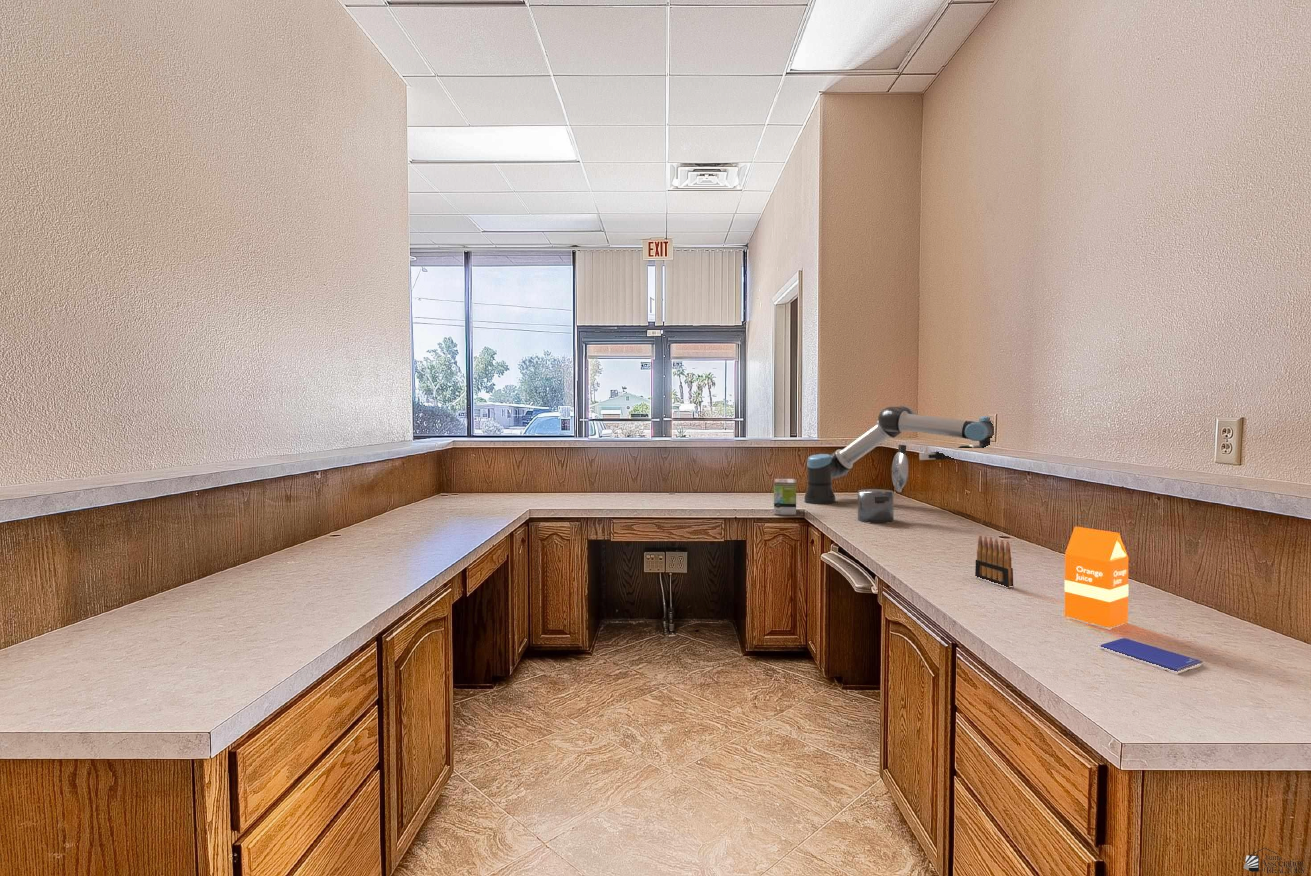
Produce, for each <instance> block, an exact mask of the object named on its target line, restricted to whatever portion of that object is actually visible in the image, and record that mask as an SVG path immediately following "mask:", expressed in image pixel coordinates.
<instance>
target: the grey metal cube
mask: <svg viewBox="0 0 1311 876" xmlns="http://www.w3.org/2000/svg"><path fill="white" fill-rule="evenodd" d="M894 492H895V491H893V490H889V489H879V488H865V489H864V488H863V489H859V490H857V520H858V521H860V522H863V523H868V522H871V524H888V523H887V522H890V523H893V522H894V521H895V515H894V514H895V511H894V507H895V506H894V505H895V504H894V503H895V501H894V498H895V497H894Z"/></svg>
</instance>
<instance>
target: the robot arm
mask: <svg viewBox="0 0 1311 876" xmlns="http://www.w3.org/2000/svg"><path fill="white" fill-rule="evenodd" d="M990 417H991V416H980V417H979V418H978V419H979V420H978V421H970V420H964V419H963V420H962V419H954V418H948V417H947V418H946V417H940V416H939V417H938V416H937V417H936V416H931V415H921V414H920V415H919V414H915V412H914V410H912V409H911V408H910V407H908V406H904V405H900V406H888V407H885V408H884V409H882V410H881V411H880V412H879V414H878V416H877V424H875V425H874V426H872V427H871V428H870V429H868V430H867V431H866V432H864V433H863V434H861V435H860V436H859V437H857V438H856V439H855V440H853V441H852V442H851V443H849V444H848V445H847V446H846V447H845V446H844V448H842V449H840V448H839V449H837V450H834V452H832V453H831V454H829V453H819V454H812V455H810V456H808V457H807V463H806V465H807V467H806V468H807V488H806V491H805V495H804V498H803V499H804V501H803V502H805V503H809V504H817V505H818V504H819V505H820V504H835V503H836V499H837V498H836V495H835V492H834V489H833V485H832V483H833V482H832V481H833V479H837V478H842V477H844V476H846V475H847V474H848V473H849V471H850V470H851V469H852V468H853V467H854V463H855V462H857V461H858V460H860V459H861V458H863V457H864V456H865V455H867V454H868V453H870V452H871V451H873V450H874V449H875V448H876V447H878V446H879V445H881V444H883V442H885V441H887V440H888V439H889V438H892V439H895V438H896V437H898V436H899V435H901V433H904V432H915V433H923V434H931V435H935V436H944V437H952V438H959V439H964V440H965V439H966V440H970V441H973V442H978V443H979V444H972V445H960V446H959V447H958V448H984V447H986V446H988V445H990V438H992V436H993V435H994V426H993V424H992V423H991V422H990ZM958 448H957V449H958ZM939 452H940V451H938V450H937V451H934V452H933V451H931V452H920V453H919V455H918V456H919V457H918V459H919V461H926V460H931V461H935V460H941V461H942V460H943V461H944V460H952V461H953V460H955V459H954V458H951V457H949V456H945V455H944V454H943V453H939ZM955 461H956V460H955Z"/></svg>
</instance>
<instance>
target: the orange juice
mask: <svg viewBox="0 0 1311 876" xmlns="http://www.w3.org/2000/svg"><path fill="white" fill-rule="evenodd" d="M1064 552H1065V553H1064V617H1065V616H1068V617H1071V618H1075V619H1079V620H1083V621H1085V622H1088V623H1094V624H1097V625H1101V626H1104V627H1109V628H1110V627H1114V626H1117V625H1119V624H1122V623H1126V622H1128V623H1129V621H1128V620H1129V616H1128V615H1129V556H1128V554H1127V551H1126V549H1125V545H1124V543H1123V540H1122V538H1121V535H1120V532H1115V531H1109V530H1102V529H1095V528H1090V527H1089V528H1088V527H1082V526H1074V528H1073V531H1072V534H1071V537H1070V539H1069V541H1068V544H1067V547H1066V550H1065V551H1064Z"/></svg>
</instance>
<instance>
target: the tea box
mask: <svg viewBox="0 0 1311 876" xmlns="http://www.w3.org/2000/svg"><path fill="white" fill-rule="evenodd" d="M773 481H774V482H773V514H774V515H783V516H785V515H788V516H789V515H790V516H793V515H797V481H796V478H774V480H773Z"/></svg>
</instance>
